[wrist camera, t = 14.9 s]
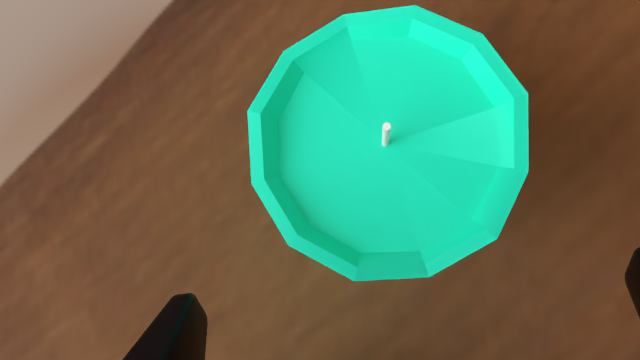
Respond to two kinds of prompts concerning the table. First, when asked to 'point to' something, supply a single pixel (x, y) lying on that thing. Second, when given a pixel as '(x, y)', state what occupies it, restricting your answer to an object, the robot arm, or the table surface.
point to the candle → (389, 143)
